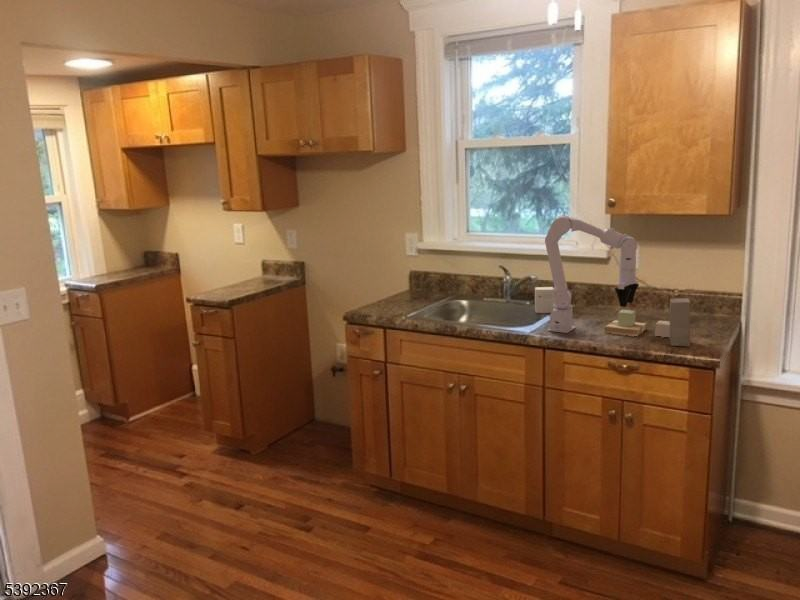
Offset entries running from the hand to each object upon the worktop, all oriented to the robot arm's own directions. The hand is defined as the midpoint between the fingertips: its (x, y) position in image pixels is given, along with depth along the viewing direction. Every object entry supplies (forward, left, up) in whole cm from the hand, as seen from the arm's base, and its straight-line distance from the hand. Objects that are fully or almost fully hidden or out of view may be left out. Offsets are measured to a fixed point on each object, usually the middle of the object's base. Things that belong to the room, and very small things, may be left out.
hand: (626, 304), depth 245 cm
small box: (+16, +40, -11) cm, 44 cm away
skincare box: (-8, -21, -11) cm, 25 cm away
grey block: (0, -14, -10) cm, 18 cm away
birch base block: (0, 0, -11) cm, 11 cm away
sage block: (0, 0, -8) cm, 8 cm away
